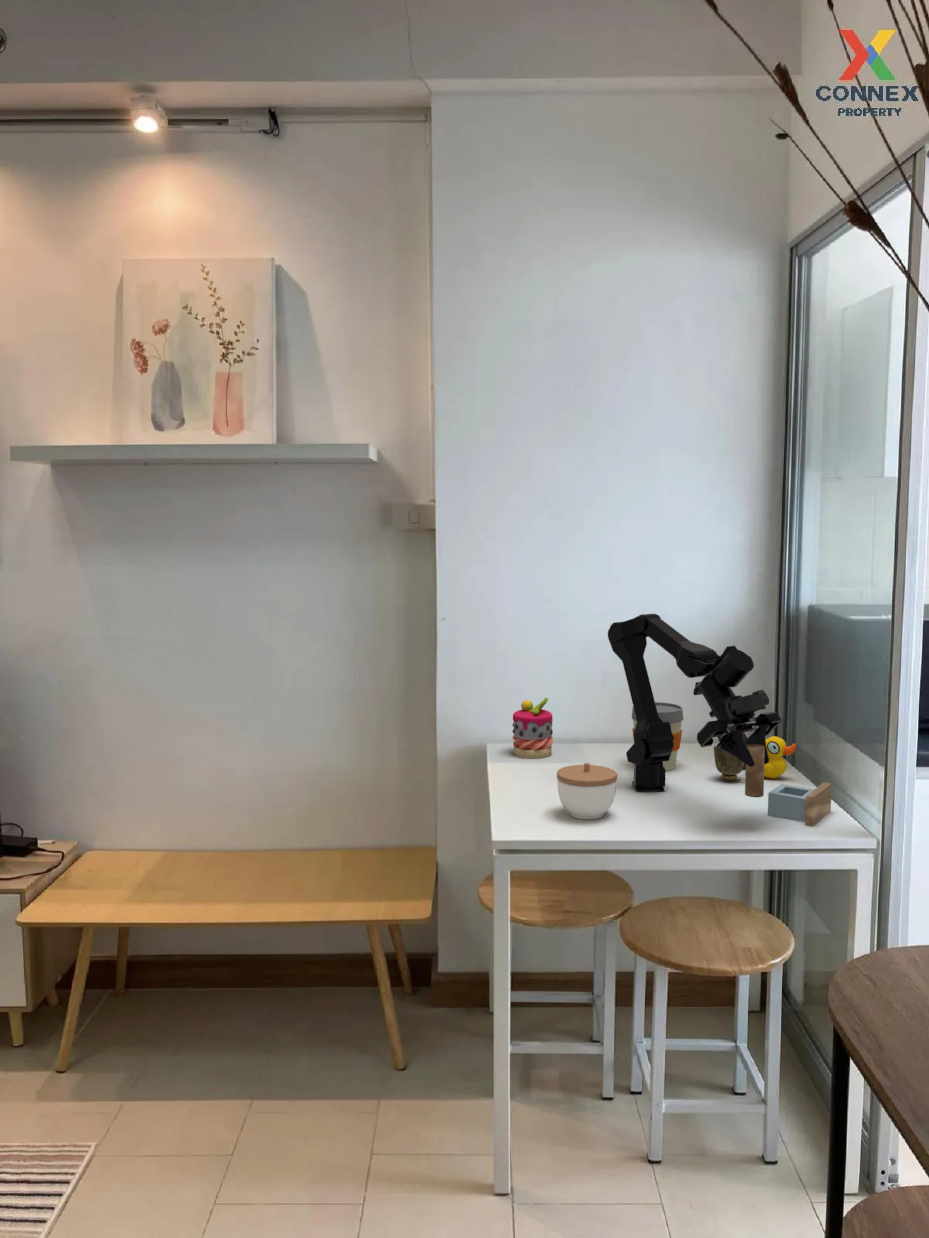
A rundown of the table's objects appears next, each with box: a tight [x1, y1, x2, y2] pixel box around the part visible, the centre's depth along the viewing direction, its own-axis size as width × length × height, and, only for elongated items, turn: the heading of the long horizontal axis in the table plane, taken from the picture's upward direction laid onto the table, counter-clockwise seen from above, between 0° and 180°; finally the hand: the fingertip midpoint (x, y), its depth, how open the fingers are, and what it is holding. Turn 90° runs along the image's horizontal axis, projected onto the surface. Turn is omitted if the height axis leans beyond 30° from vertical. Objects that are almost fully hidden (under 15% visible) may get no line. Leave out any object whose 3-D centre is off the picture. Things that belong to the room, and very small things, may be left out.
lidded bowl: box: [556, 762, 618, 820], centre depth 217 cm, size 13×13×11 cm
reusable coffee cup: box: [631, 701, 684, 772], centre depth 253 cm, size 12×13×15 cm
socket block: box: [767, 783, 816, 823], centre depth 217 cm, size 8×8×5 cm
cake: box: [512, 697, 554, 760], centre depth 267 cm, size 10×11×15 cm
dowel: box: [744, 744, 765, 798], centre depth 207 cm, size 4×4×10 cm
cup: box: [713, 744, 744, 782], centre depth 242 cm, size 8×7×8 cm
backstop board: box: [804, 781, 833, 827], centre depth 214 cm, size 2×12×6 cm, turn 144°
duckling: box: [764, 735, 797, 779], centre depth 243 cm, size 11×5×10 cm, turn 57°
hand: (760, 764), depth 205 cm, fingers closed on dowel, 4 cm apart
